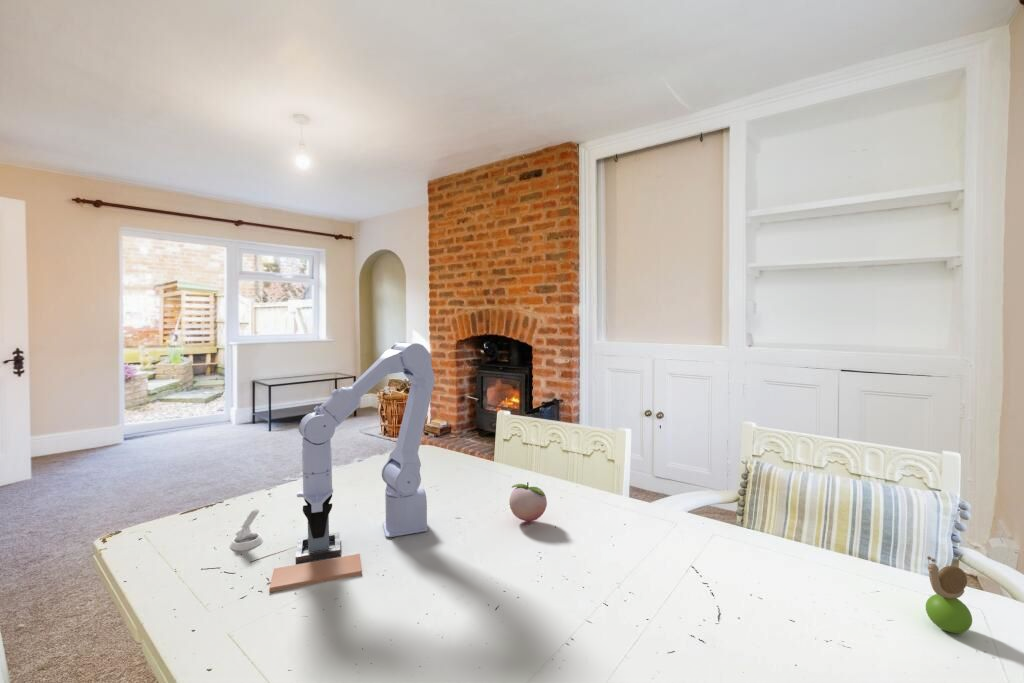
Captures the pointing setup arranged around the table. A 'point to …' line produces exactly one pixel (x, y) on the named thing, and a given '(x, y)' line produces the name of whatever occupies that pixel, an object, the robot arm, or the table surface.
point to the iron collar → (318, 554)
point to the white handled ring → (246, 534)
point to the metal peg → (318, 539)
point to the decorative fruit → (527, 502)
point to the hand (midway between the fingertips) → (318, 532)
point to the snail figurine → (948, 599)
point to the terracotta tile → (315, 572)
